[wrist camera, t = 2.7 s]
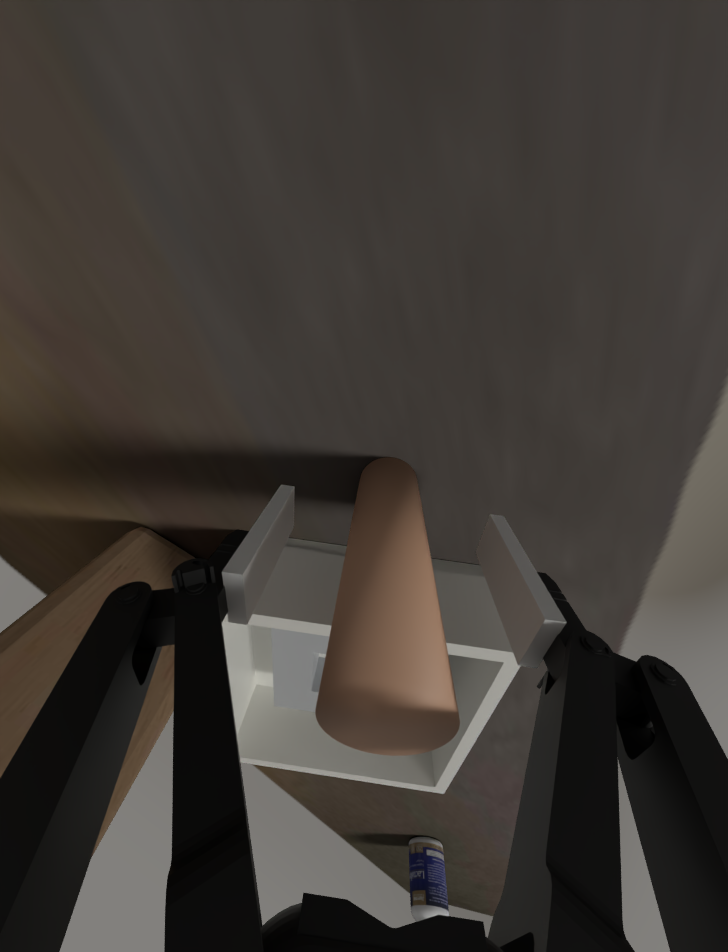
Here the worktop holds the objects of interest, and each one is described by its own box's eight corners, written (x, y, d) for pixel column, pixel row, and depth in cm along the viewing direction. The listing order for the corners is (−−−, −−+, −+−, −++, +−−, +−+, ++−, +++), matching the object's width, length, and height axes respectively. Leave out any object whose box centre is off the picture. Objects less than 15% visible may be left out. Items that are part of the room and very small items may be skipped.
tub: (238, 530, 24) (184, 603, 17) (490, 566, 23) (527, 654, 17) (252, 676, 33) (219, 759, 27) (433, 703, 33) (443, 793, 26)
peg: (363, 453, 20) (318, 668, 7) (422, 461, 20) (478, 692, 7) (356, 503, 22) (312, 744, 9) (411, 511, 22) (440, 764, 9)
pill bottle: (416, 832, 50) (421, 942, 41) (447, 840, 50) (460, 950, 42) (403, 842, 53) (406, 947, 44) (433, 849, 53) (442, 954, 44)
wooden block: (247, 584, 26) (-48, 1121, 9) (195, 633, 30) (-83, 1077, 12) (141, 517, 24) (-583, 1080, 6) (100, 581, 28) (-421, 1041, 10)
